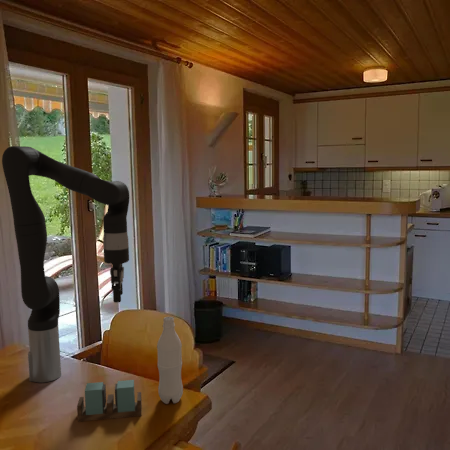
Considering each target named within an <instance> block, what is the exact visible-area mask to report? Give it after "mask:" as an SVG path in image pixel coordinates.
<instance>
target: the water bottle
mask: <svg viewBox="0 0 450 450" xmlns="http://www.w3.org/2000/svg"><path fill="white" fill-rule="evenodd" d="M174 321H175V318H174V317H173V316H165V317H164V318H163V323H162V324H163V325H162V332H161V334H160V336H159V339H158V341H157V345H156V348H157V349H156V350H157V368H158V374H159V375H158V376H159V382H158V396H159V398H160V400H161V402H162V403H163V404H166V405H168V404H169V403H170V401H172V403H173V404H177V403H179V401H180V400H181V398H182V396H183V393H184V386H183V381H182V367H183V359H182V357H183V356H182V347H183V346H182V341H181V339H180V337H179V335H178V333H177V332H176V330H175V327H176V323H175V322H174Z"/></svg>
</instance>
